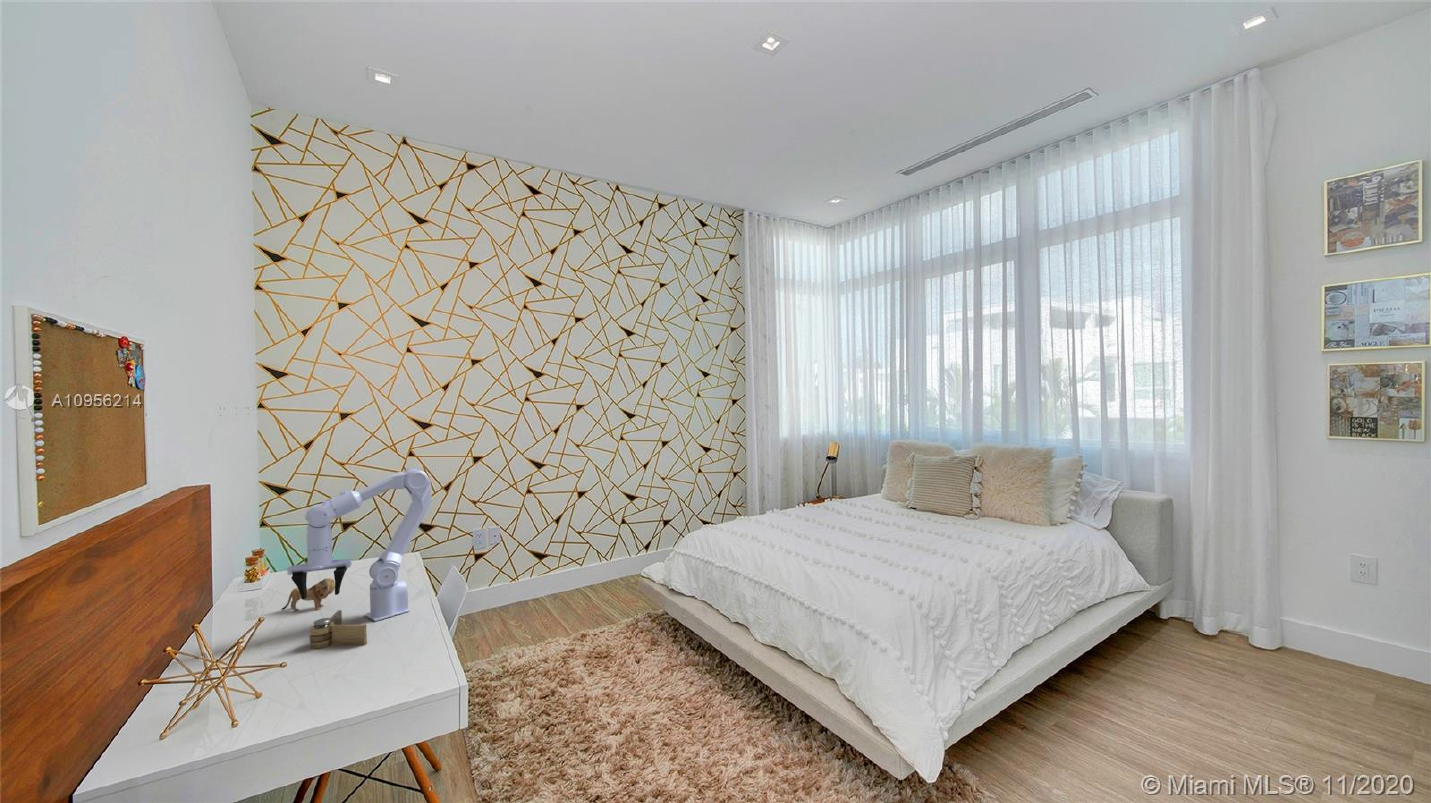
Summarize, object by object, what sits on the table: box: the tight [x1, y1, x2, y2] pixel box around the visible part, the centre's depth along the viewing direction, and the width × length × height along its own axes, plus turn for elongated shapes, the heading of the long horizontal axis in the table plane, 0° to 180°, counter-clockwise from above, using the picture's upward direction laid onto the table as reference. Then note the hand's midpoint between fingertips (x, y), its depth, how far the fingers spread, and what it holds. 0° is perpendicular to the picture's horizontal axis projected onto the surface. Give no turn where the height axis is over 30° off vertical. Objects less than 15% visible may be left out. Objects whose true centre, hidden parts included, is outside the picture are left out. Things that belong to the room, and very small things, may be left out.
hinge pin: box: [313, 617, 331, 640], centre depth 142 cm, size 4×4×6 cm
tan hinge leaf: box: [309, 621, 368, 650], centre depth 142 cm, size 14×5×5 cm, turn 86°
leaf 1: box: [309, 609, 343, 642], centre depth 147 cm, size 14×5×4 cm, turn 16°
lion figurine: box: [281, 577, 335, 613], centre depth 168 cm, size 15×5×9 cm, turn 104°
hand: (320, 595), depth 152 cm, fingers open, 7 cm apart
